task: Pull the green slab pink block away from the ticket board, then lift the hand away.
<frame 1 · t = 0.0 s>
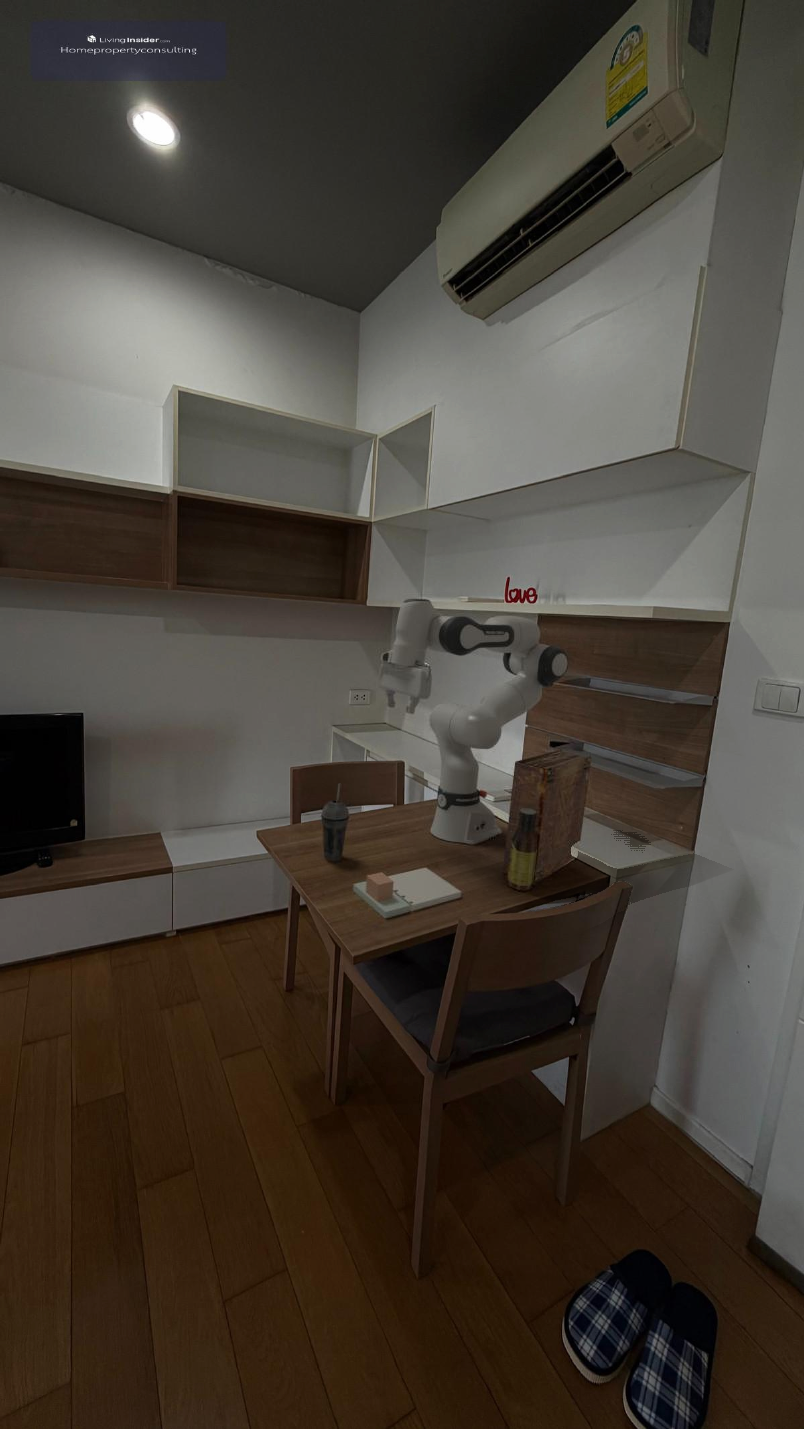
hand: (399, 710, 154), 39 cm above the table, tool pointing down, fingers open, 8 cm apart
green slab pink block: (381, 889, 129), point 3 cm above the table, slide at 0.0 cm
beverage cup: (332, 858, 151), on the table
book: (541, 866, 156), on the table
ticket board: (418, 890, 136), on the table
sauce bottle: (519, 886, 142), on the table
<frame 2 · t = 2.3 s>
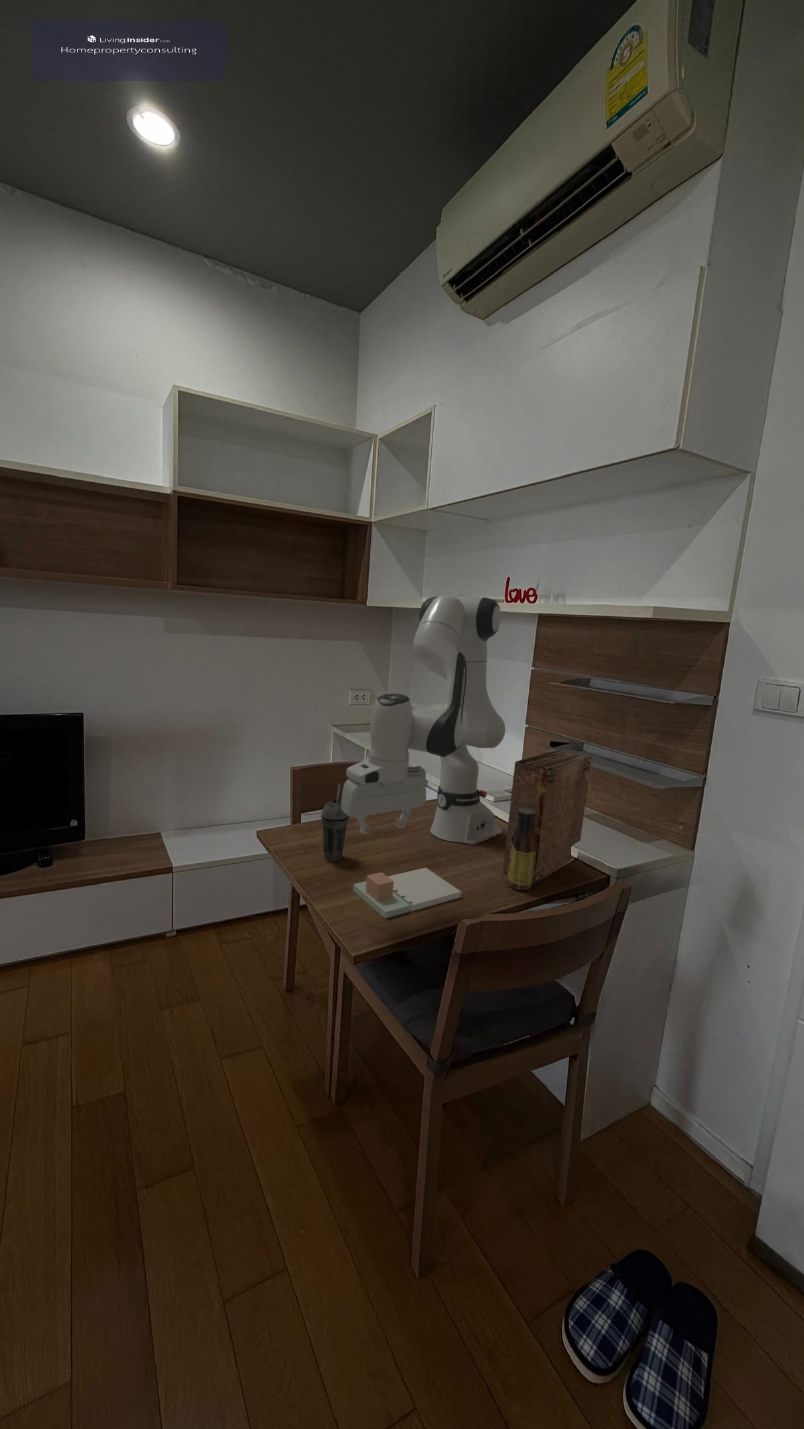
hand: (383, 829, 127), 17 cm above the table, tool pointing down, fingers open, 8 cm apart
nothing on the table moved.
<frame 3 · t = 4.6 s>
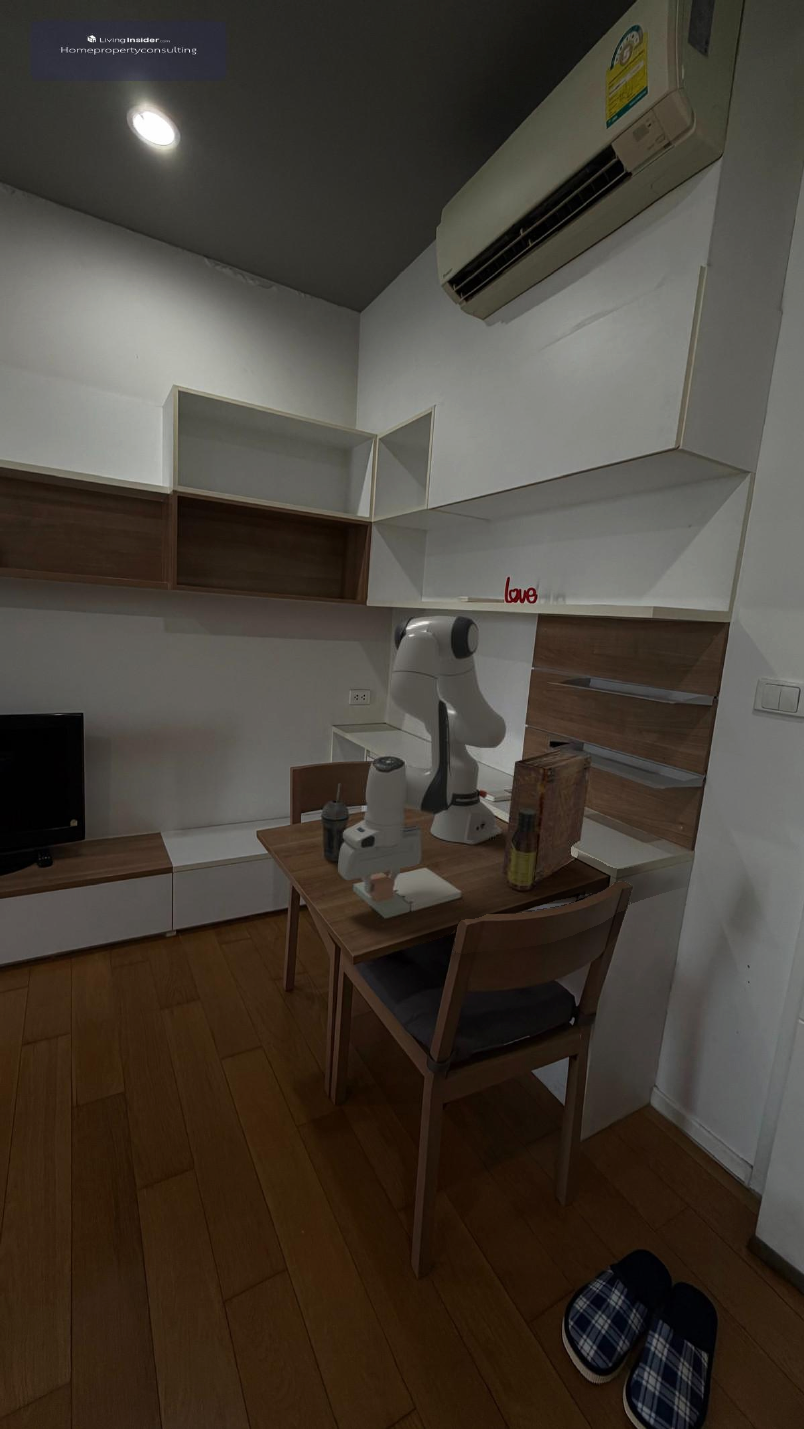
hand: (379, 888, 129), 3 cm above the table, tool pointing down, fingers closed on green slab pink block, 4 cm apart
green slab pink block: (381, 889, 129), point 3 cm above the table, slide at 0.0 cm, touching gripper
everything else where it was.
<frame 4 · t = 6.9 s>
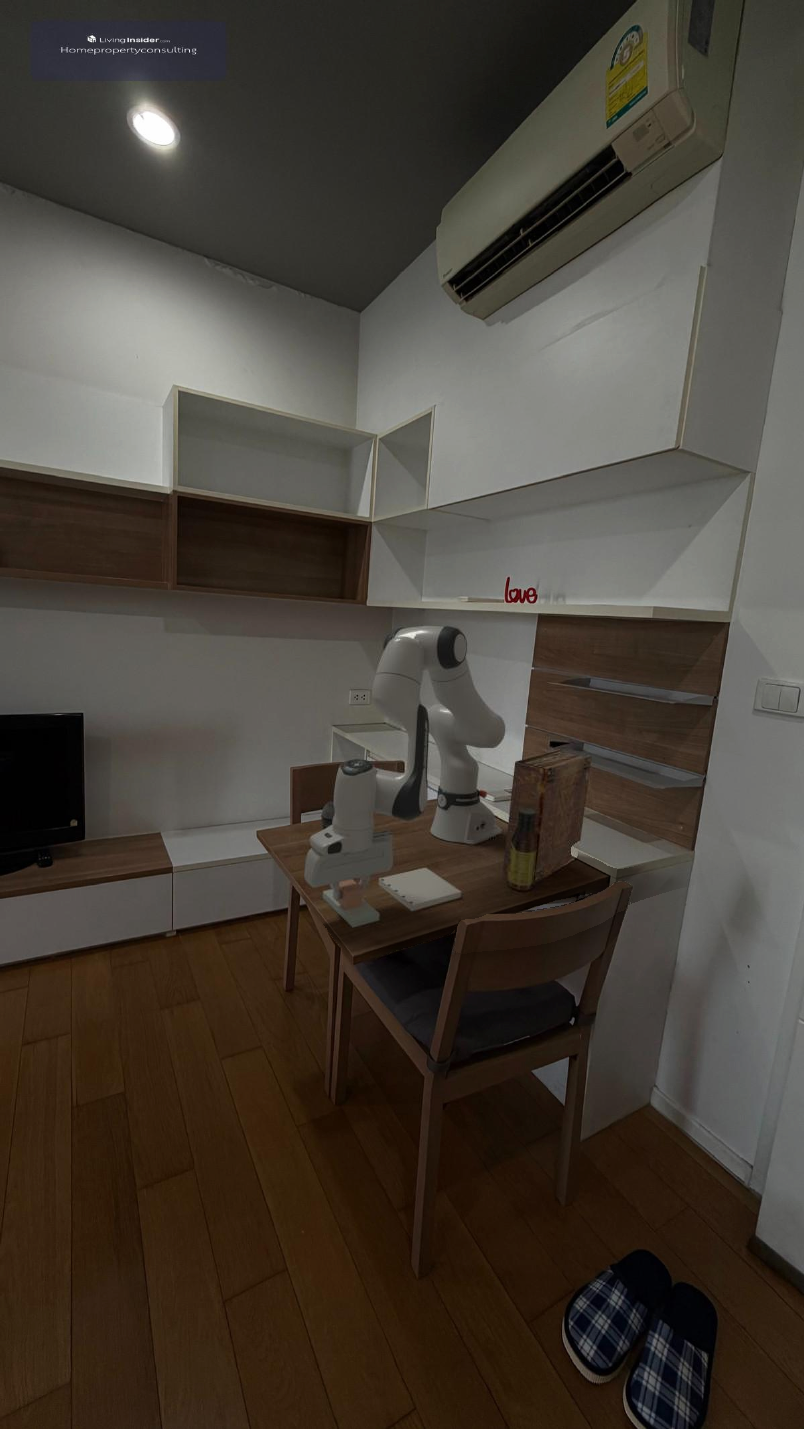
hand: (348, 896, 125), 3 cm above the table, tool pointing down, fingers closed on green slab pink block, 4 cm apart
green slab pink block: (350, 896, 125), point 3 cm above the table, slide at 7.9 cm, touching gripper
everything else where it was.
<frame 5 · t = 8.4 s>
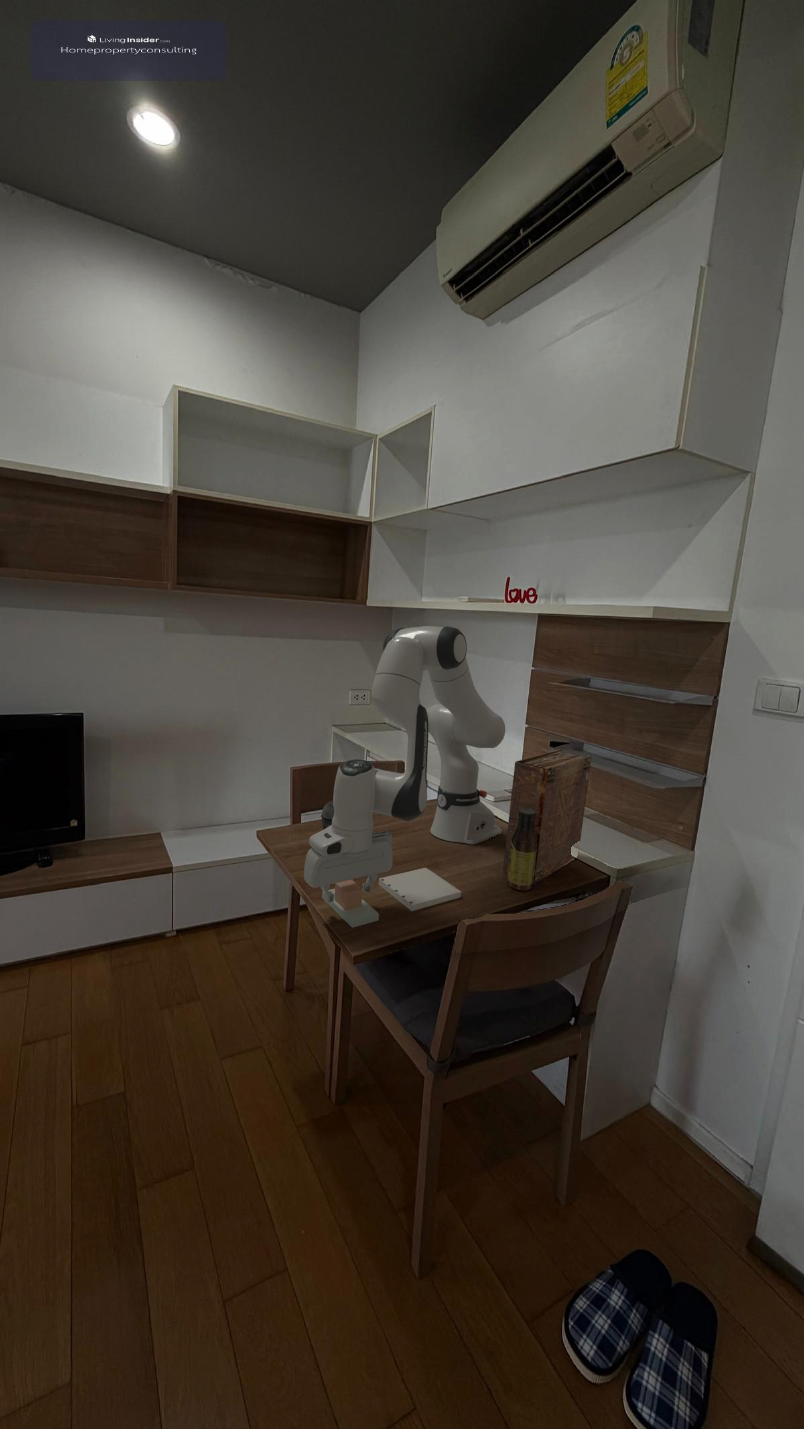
hand: (348, 896, 125), 3 cm above the table, tool pointing down, fingers open, 8 cm apart
green slab pink block: (350, 897, 125), point 3 cm above the table, slide at 8.0 cm
everything else where it was.
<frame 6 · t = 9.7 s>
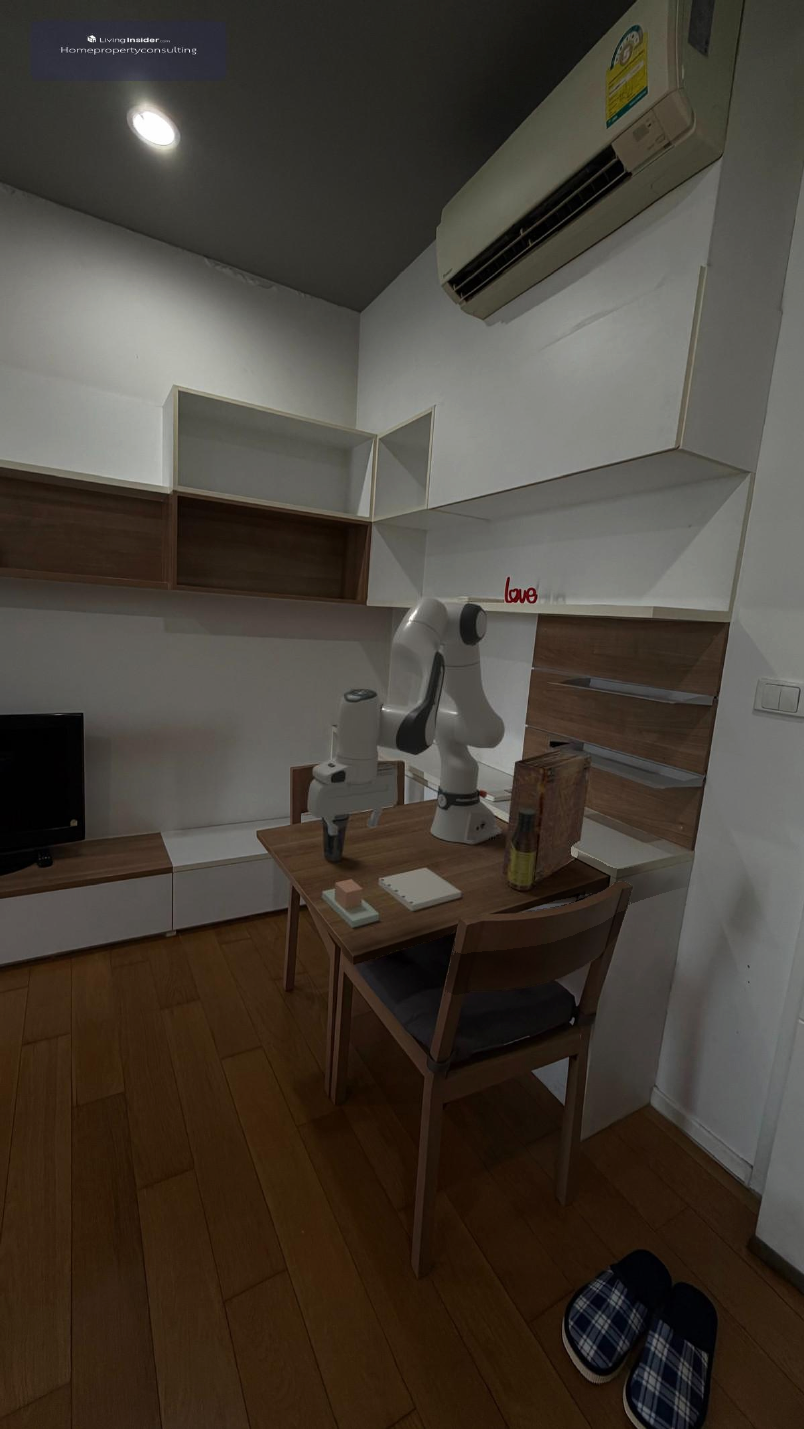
hand: (352, 830, 122), 18 cm above the table, tool pointing down, fingers open, 8 cm apart
nothing on the table moved.
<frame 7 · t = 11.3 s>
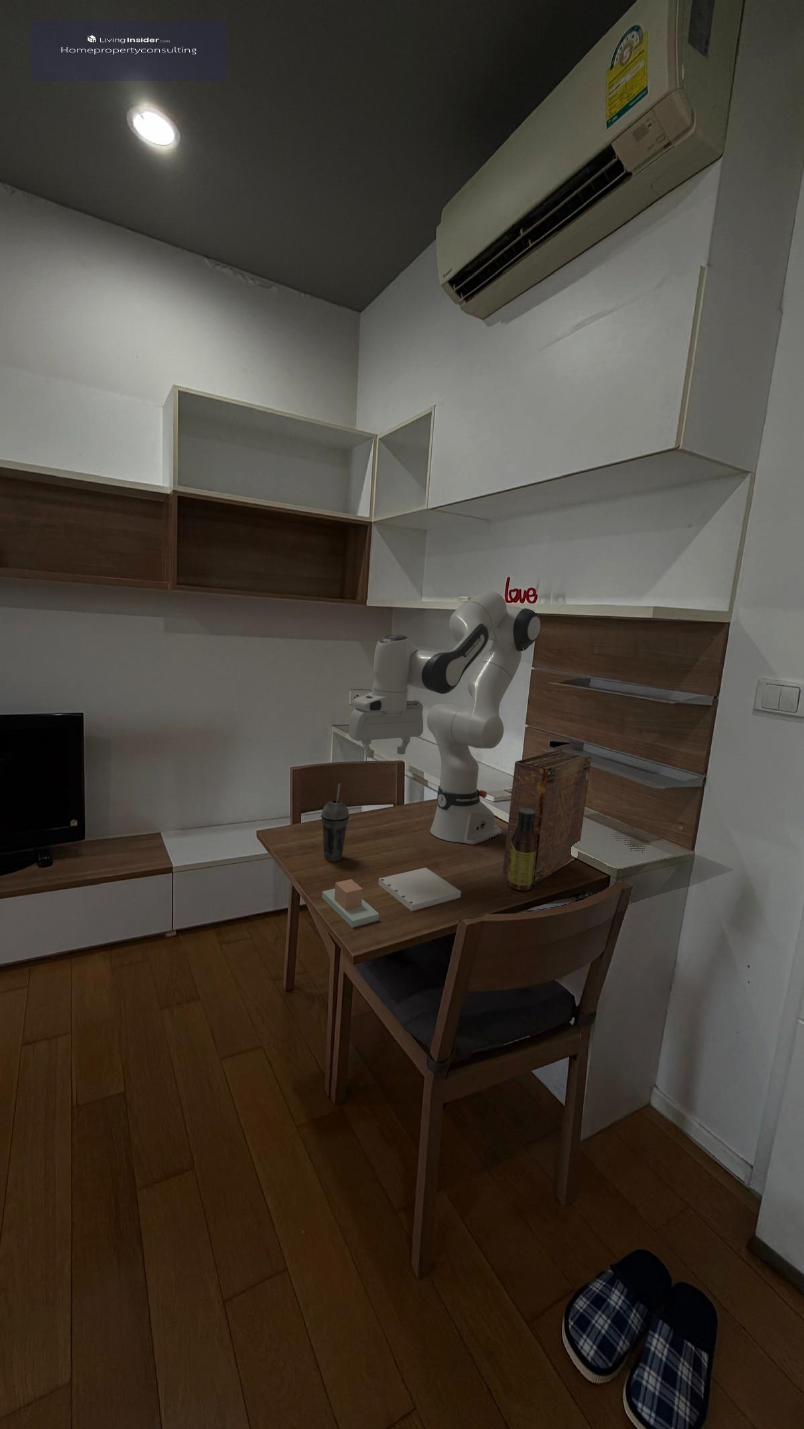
hand: (385, 755, 144), 29 cm above the table, tool pointing down, fingers open, 8 cm apart
nothing on the table moved.
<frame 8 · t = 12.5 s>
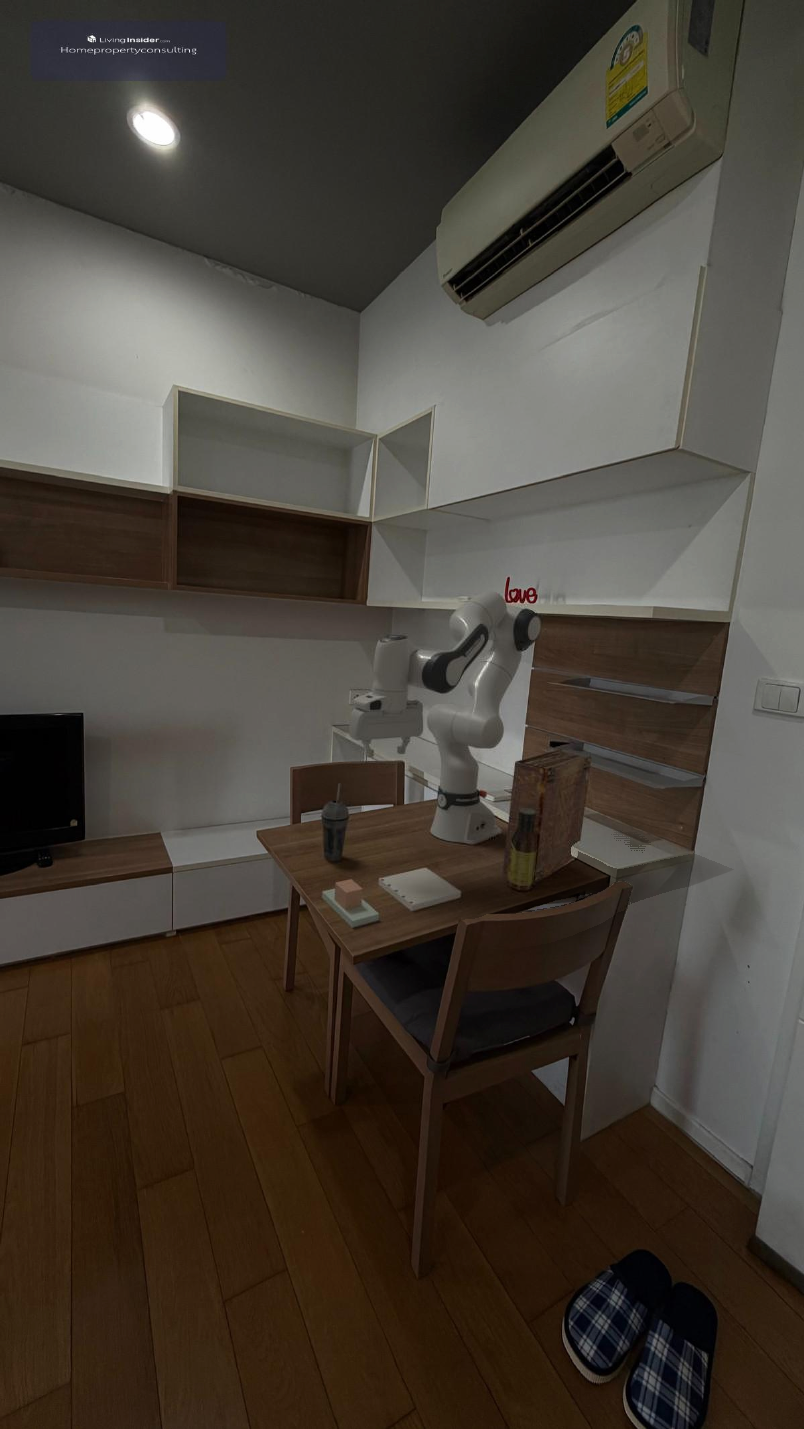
hand: (385, 755, 144), 29 cm above the table, tool pointing down, fingers open, 8 cm apart
nothing on the table moved.
at the end: green slab pink block slide at 8.0 cm; the gripper is holding nothing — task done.
